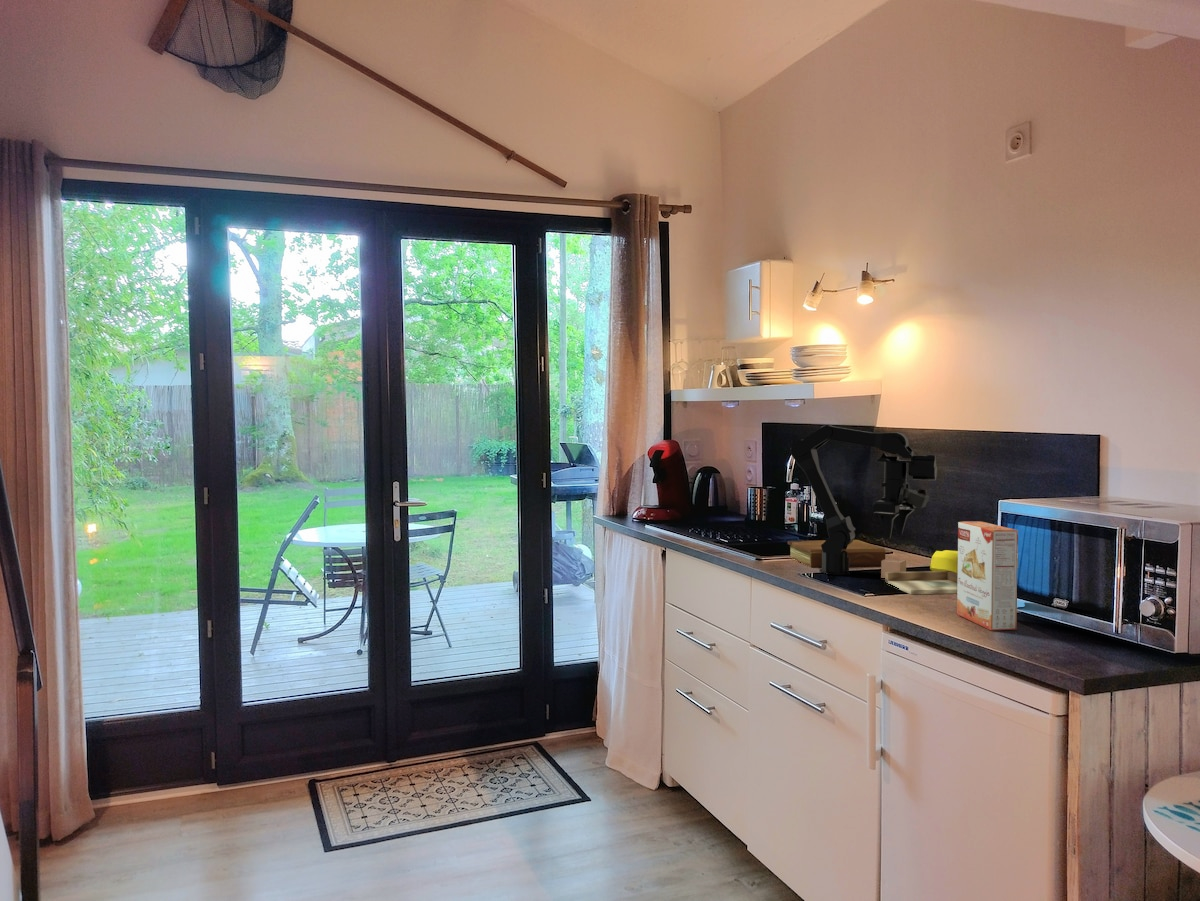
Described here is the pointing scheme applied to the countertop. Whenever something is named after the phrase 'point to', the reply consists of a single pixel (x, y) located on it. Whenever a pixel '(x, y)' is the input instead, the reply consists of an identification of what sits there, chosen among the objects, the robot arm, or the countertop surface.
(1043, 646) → the countertop surface
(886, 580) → the arena
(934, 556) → the faceted yellow capsule
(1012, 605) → the cracker box
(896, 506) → the robot arm
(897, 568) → the cube
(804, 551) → the diary
